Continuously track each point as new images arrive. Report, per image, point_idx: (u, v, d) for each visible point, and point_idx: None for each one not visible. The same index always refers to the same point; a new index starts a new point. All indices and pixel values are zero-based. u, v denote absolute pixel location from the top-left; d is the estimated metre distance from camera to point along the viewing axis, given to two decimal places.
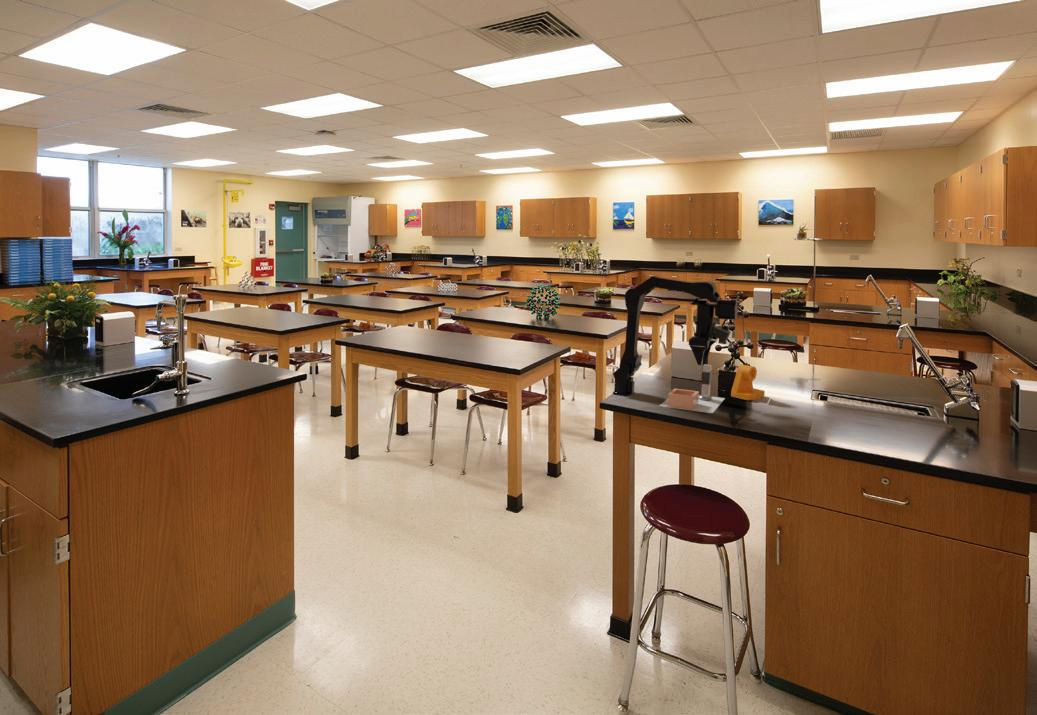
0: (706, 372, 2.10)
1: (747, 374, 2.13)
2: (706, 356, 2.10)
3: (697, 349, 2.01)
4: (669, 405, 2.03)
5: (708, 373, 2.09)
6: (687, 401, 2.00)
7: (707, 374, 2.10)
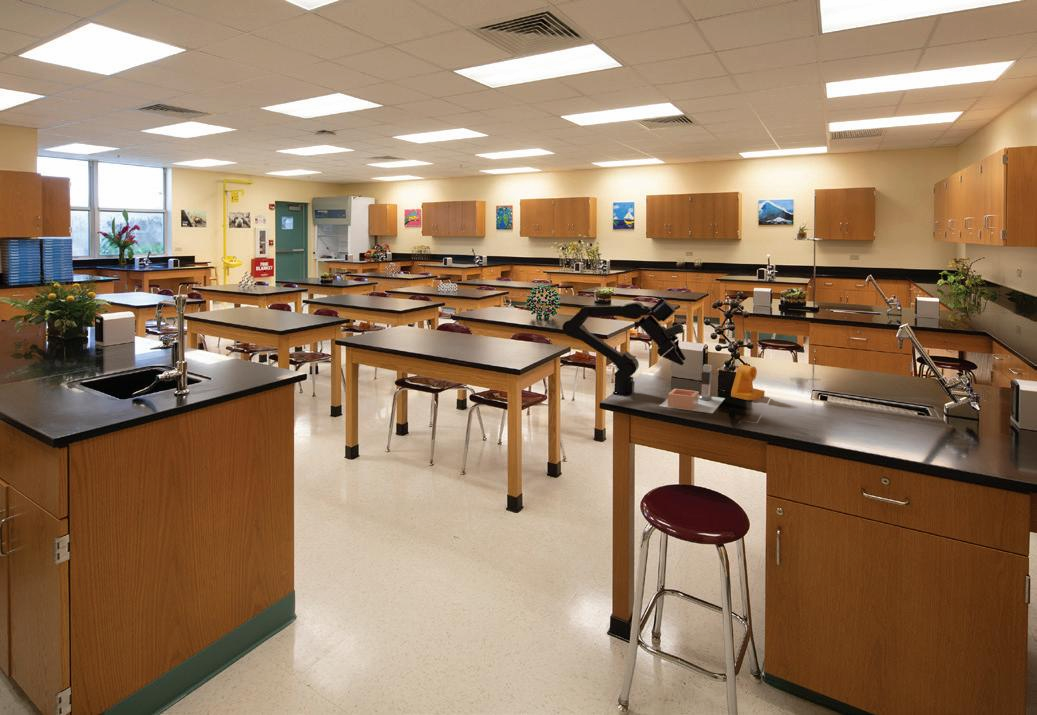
0: (706, 372, 2.10)
1: (747, 374, 2.13)
2: (682, 356, 2.17)
3: (670, 354, 2.08)
4: (669, 405, 2.03)
5: (708, 373, 2.09)
6: (687, 401, 2.00)
7: (707, 374, 2.10)
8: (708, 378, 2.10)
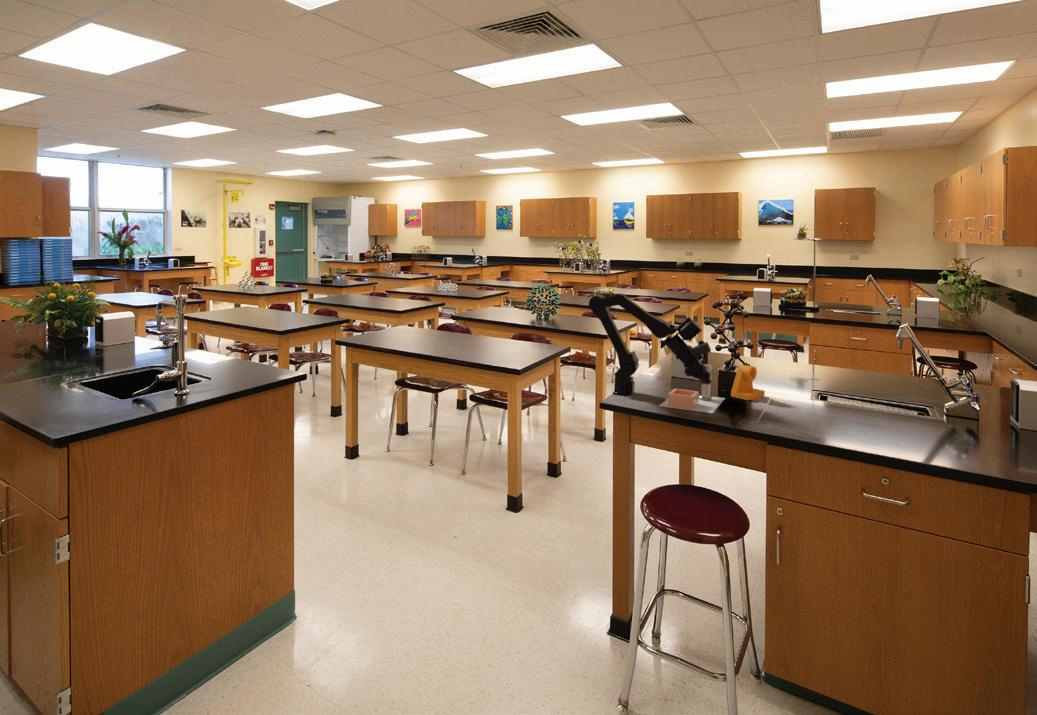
0: (706, 372, 2.10)
1: (747, 374, 2.13)
2: None
3: (697, 373, 2.09)
4: (669, 405, 2.03)
5: (708, 373, 2.09)
6: (687, 401, 2.00)
7: (707, 374, 2.10)
8: None
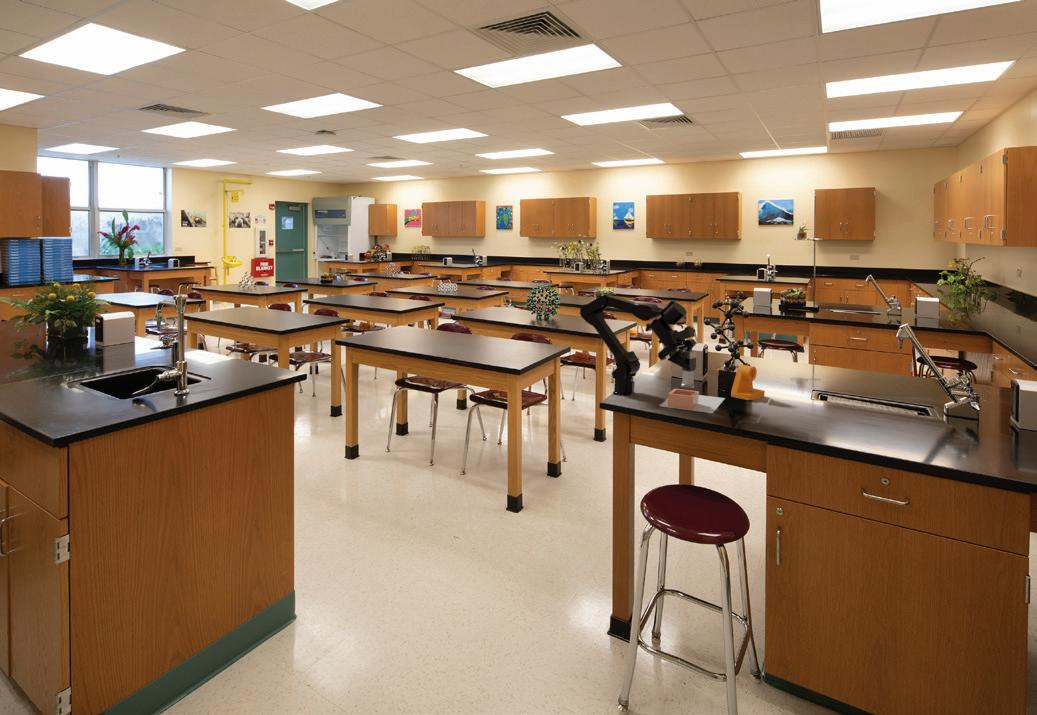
0: (687, 358, 2.02)
1: (747, 374, 2.13)
2: None
3: (676, 358, 2.02)
4: (669, 405, 2.03)
5: (688, 359, 2.01)
6: (687, 401, 2.00)
7: (688, 360, 2.02)
8: None
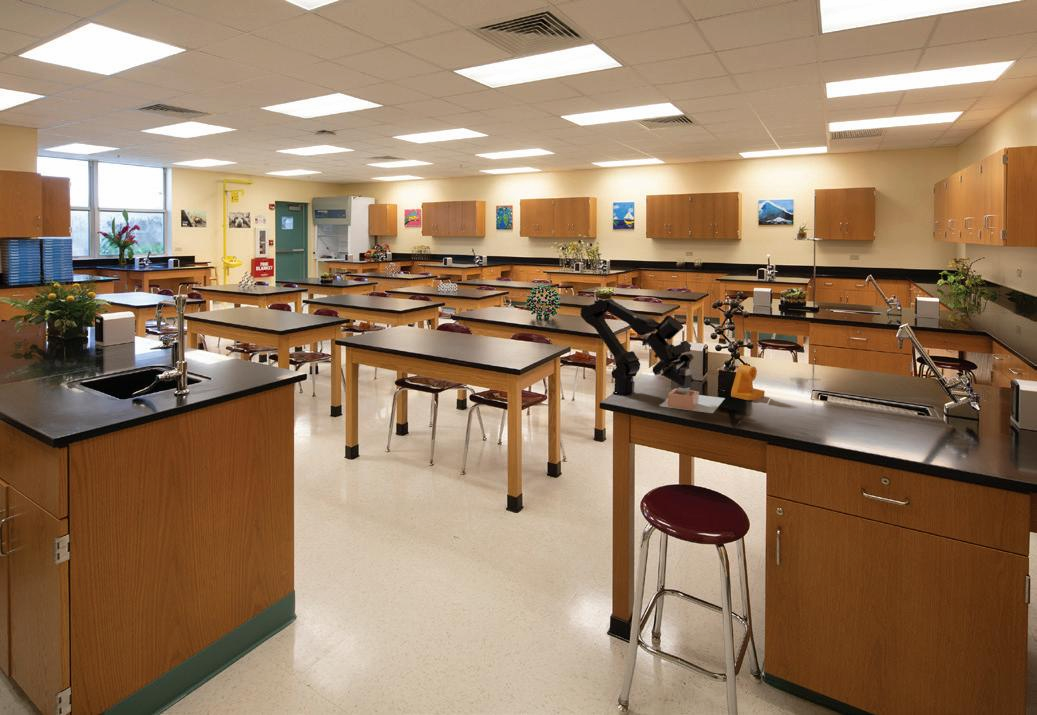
0: (682, 375, 2.02)
1: (747, 374, 2.13)
2: None
3: (670, 373, 2.02)
4: (669, 405, 2.03)
5: (684, 376, 2.02)
6: (687, 401, 2.00)
7: (683, 377, 2.02)
8: (684, 382, 2.02)
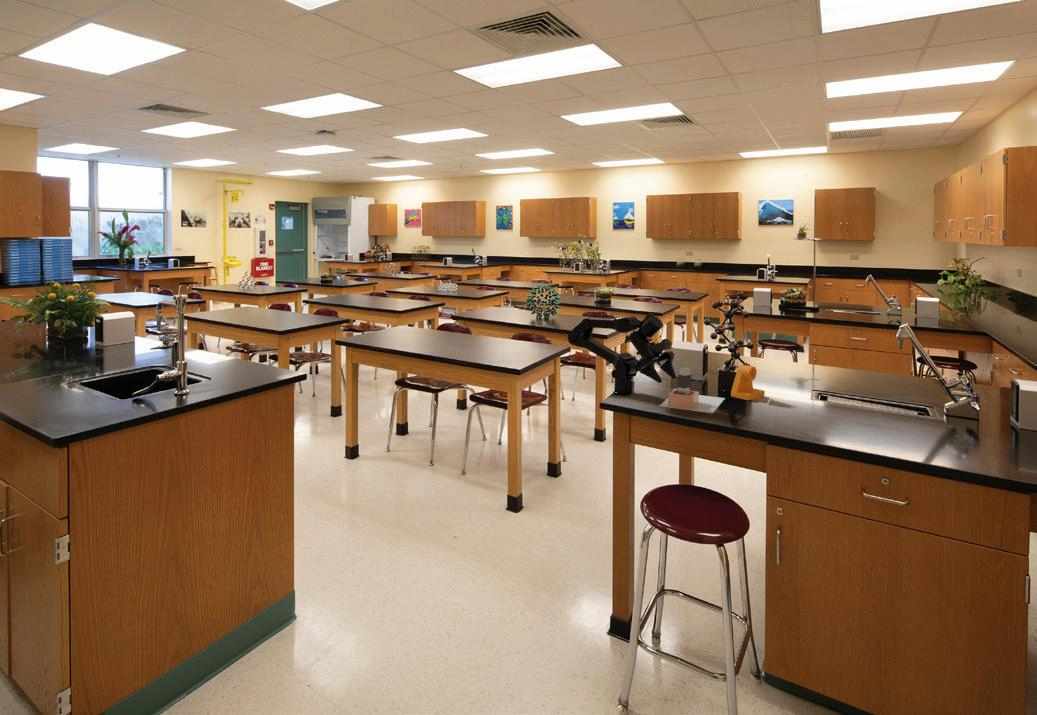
0: (682, 375, 2.02)
1: (747, 374, 2.13)
2: (673, 374, 2.11)
3: (648, 371, 2.06)
4: (669, 405, 2.03)
5: (683, 376, 2.02)
6: (687, 401, 2.00)
7: (683, 377, 2.02)
8: (683, 382, 2.02)
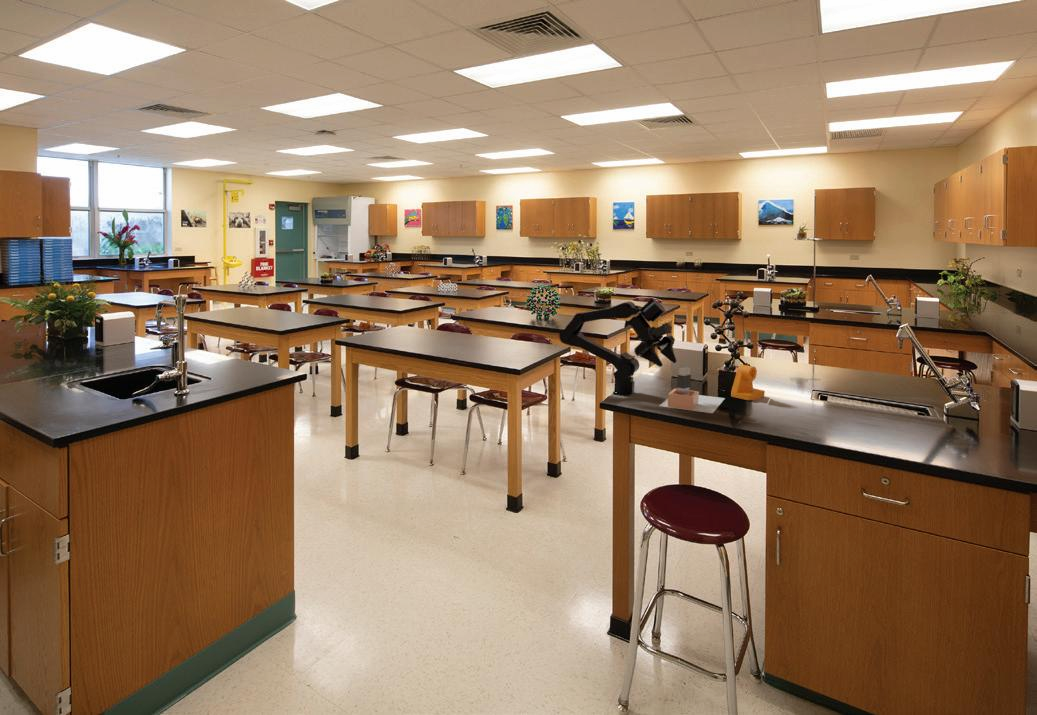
0: (681, 375, 2.02)
1: (747, 374, 2.13)
2: (673, 358, 2.12)
3: (649, 355, 2.07)
4: (669, 405, 2.03)
5: (683, 377, 2.01)
6: (687, 401, 2.00)
7: (682, 377, 2.02)
8: (683, 382, 2.02)
